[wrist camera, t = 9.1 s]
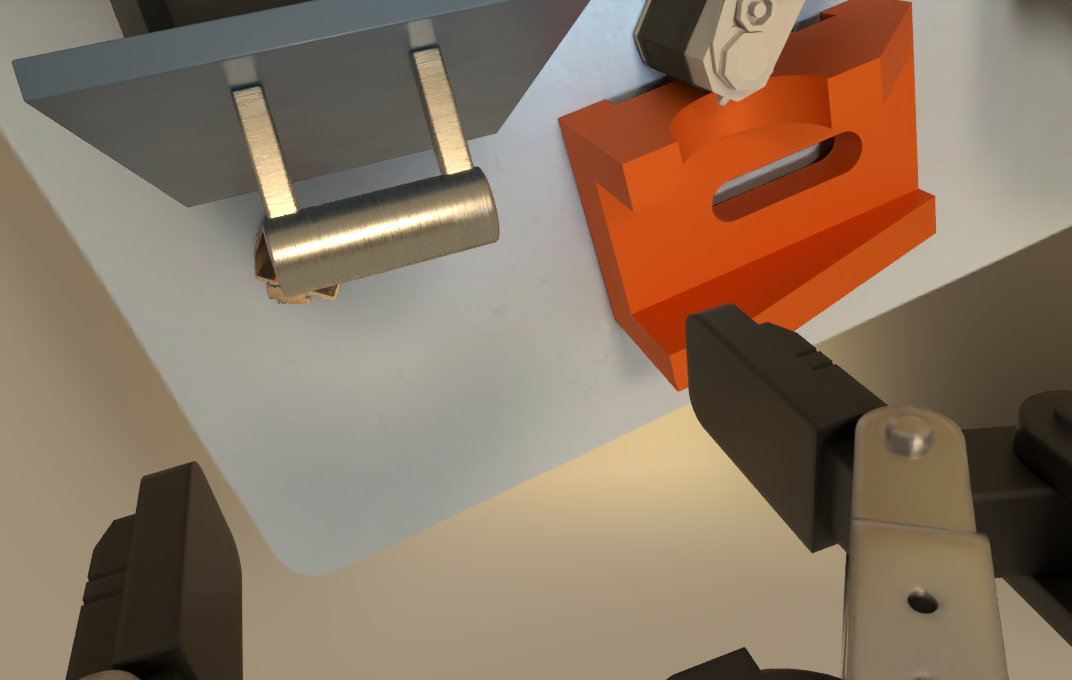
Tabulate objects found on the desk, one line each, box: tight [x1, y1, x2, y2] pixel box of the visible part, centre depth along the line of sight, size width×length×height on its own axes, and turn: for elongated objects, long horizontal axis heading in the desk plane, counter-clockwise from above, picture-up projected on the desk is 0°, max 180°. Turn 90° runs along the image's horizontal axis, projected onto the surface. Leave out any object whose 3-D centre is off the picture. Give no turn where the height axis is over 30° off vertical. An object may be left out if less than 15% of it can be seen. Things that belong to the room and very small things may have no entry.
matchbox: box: [255, 217, 342, 304], centre depth 41 cm, size 5×5×1 cm
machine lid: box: [12, 0, 590, 297], centre depth 24 cm, size 14×12×5 cm
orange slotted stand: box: [558, 0, 936, 392], centre depth 43 cm, size 18×13×8 cm
